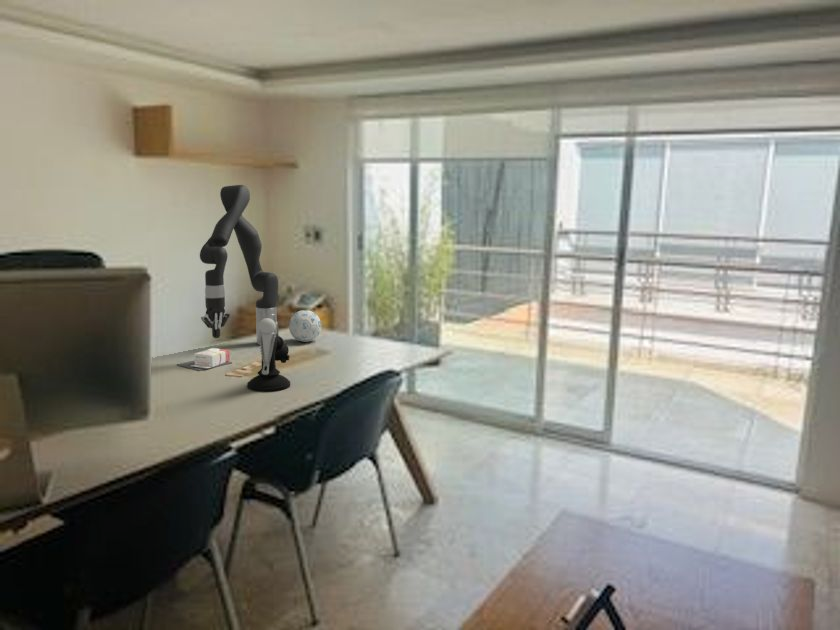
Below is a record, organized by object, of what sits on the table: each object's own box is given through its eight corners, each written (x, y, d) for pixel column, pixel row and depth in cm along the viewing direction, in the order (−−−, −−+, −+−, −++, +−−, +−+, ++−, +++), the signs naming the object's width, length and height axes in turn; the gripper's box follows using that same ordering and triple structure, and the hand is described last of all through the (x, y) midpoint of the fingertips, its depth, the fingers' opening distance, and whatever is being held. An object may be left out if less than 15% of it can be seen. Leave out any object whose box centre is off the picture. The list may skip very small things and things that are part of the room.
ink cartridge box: (229, 349, 270) (207, 357, 256) (229, 361, 271) (207, 369, 257) (211, 347, 272) (189, 354, 258) (212, 358, 273) (189, 367, 259)
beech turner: (251, 363, 269) (251, 360, 269) (267, 364, 268) (267, 362, 267) (225, 375, 250) (225, 372, 250) (241, 377, 249) (241, 374, 248)
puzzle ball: (300, 346, 302) (299, 314, 299) (283, 340, 313) (282, 309, 310) (327, 342, 312) (327, 310, 309) (310, 336, 323) (309, 306, 320)
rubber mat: (210, 357, 276) (210, 356, 276) (232, 363, 269) (232, 362, 269) (177, 365, 263) (177, 364, 263) (199, 371, 256) (199, 370, 256)
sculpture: (240, 390, 232) (238, 320, 227) (265, 373, 255) (264, 309, 250) (282, 393, 230) (281, 323, 225) (303, 375, 253) (302, 311, 248)
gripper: (222, 293, 274) (223, 334, 277) (195, 296, 263) (196, 339, 266) (234, 295, 269) (235, 336, 272) (207, 298, 259) (208, 341, 262)
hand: (216, 337), depth 269 cm, fingers closed
